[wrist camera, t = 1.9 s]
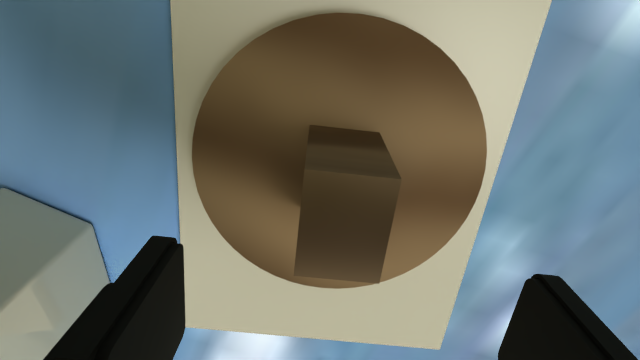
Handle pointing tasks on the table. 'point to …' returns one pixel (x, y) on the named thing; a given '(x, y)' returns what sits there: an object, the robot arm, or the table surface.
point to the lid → (339, 150)
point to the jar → (43, 275)
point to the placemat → (367, 301)
